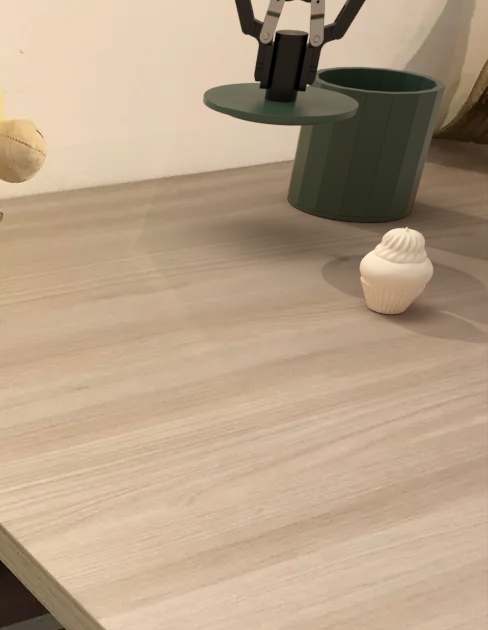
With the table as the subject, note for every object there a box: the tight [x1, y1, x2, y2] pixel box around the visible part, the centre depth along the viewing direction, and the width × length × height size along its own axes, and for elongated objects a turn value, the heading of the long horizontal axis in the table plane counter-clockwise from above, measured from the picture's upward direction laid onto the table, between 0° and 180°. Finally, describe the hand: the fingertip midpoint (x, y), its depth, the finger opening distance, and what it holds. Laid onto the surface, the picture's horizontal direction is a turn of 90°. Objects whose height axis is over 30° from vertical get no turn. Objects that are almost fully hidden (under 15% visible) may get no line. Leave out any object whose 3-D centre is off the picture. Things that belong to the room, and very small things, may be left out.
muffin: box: [359, 226, 434, 315], centre depth 90 cm, size 6×6×7 cm
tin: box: [286, 66, 446, 223], centre depth 113 cm, size 14×14×12 cm
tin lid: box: [202, 29, 359, 127], centre depth 98 cm, size 15×15×7 cm
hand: (282, 87), depth 98 cm, fingers closed on tin lid, 3 cm apart
